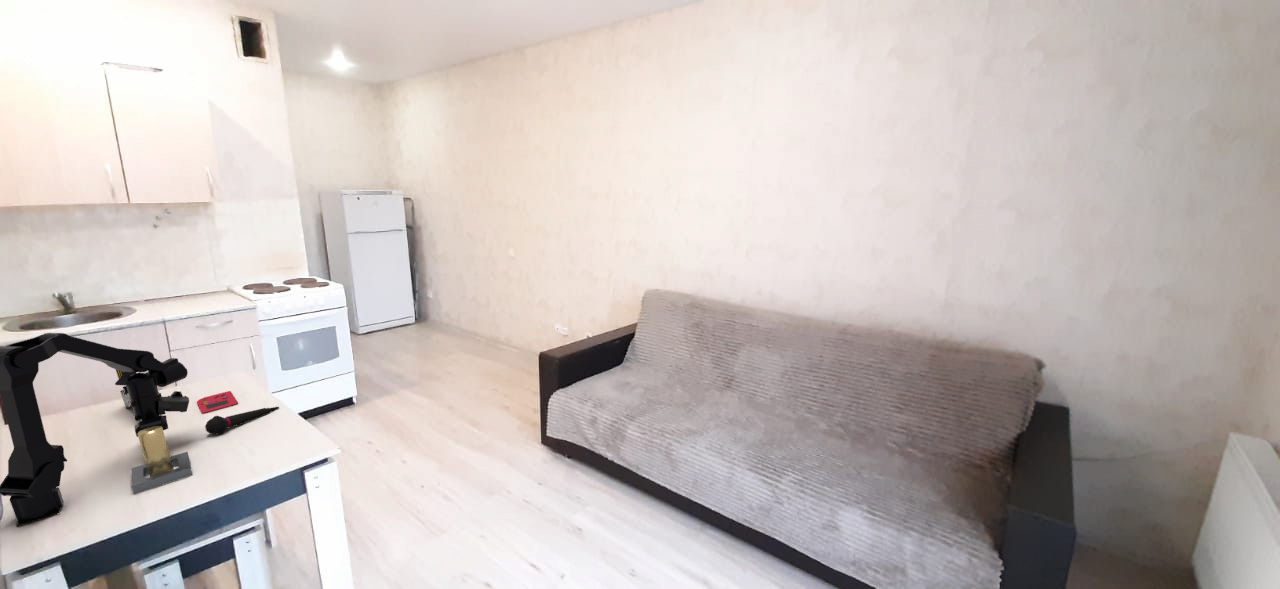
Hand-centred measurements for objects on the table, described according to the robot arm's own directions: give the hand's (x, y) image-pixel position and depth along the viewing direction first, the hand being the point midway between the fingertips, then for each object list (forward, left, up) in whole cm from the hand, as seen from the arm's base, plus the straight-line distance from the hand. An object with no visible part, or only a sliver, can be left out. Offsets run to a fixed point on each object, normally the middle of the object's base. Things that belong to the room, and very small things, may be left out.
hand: (158, 445), depth 142 cm
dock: (0, -17, -2) cm, 17 cm away
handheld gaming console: (+15, +28, -3) cm, 32 cm away
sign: (-4, +36, -2) cm, 36 cm away
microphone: (+20, +3, -2) cm, 20 cm away
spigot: (0, -17, -2) cm, 17 cm away
